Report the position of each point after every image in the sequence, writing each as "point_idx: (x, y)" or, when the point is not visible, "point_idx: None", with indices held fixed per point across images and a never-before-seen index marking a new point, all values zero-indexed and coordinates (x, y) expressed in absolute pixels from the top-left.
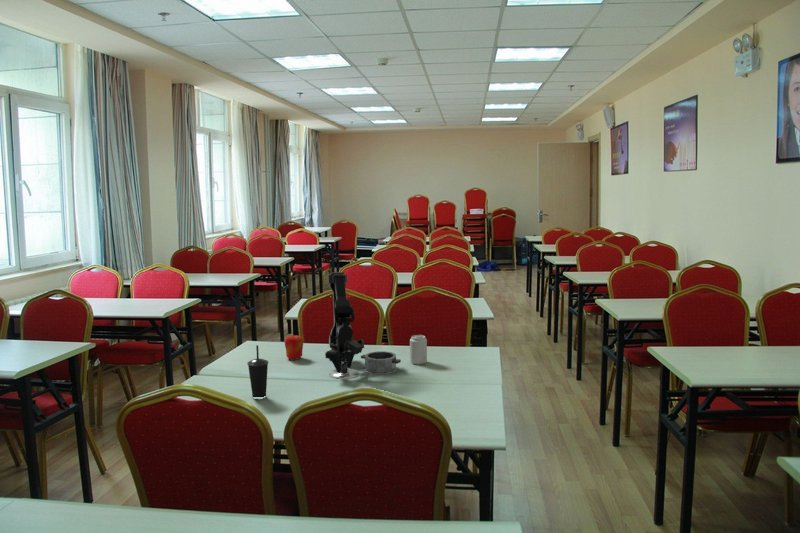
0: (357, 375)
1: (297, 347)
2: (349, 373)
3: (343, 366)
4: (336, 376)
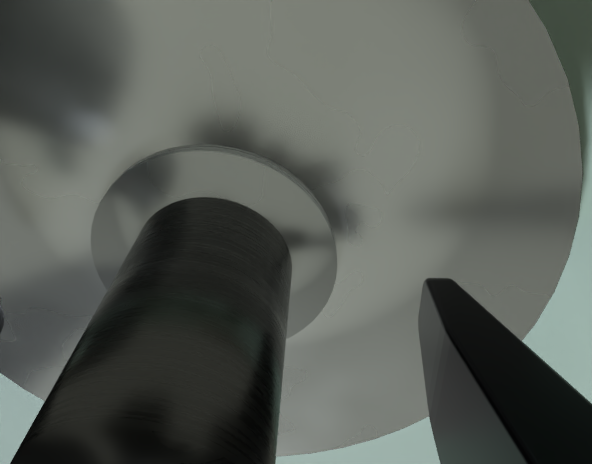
0: None
1: None
2: (157, 145)
3: (265, 377)
4: (499, 271)
